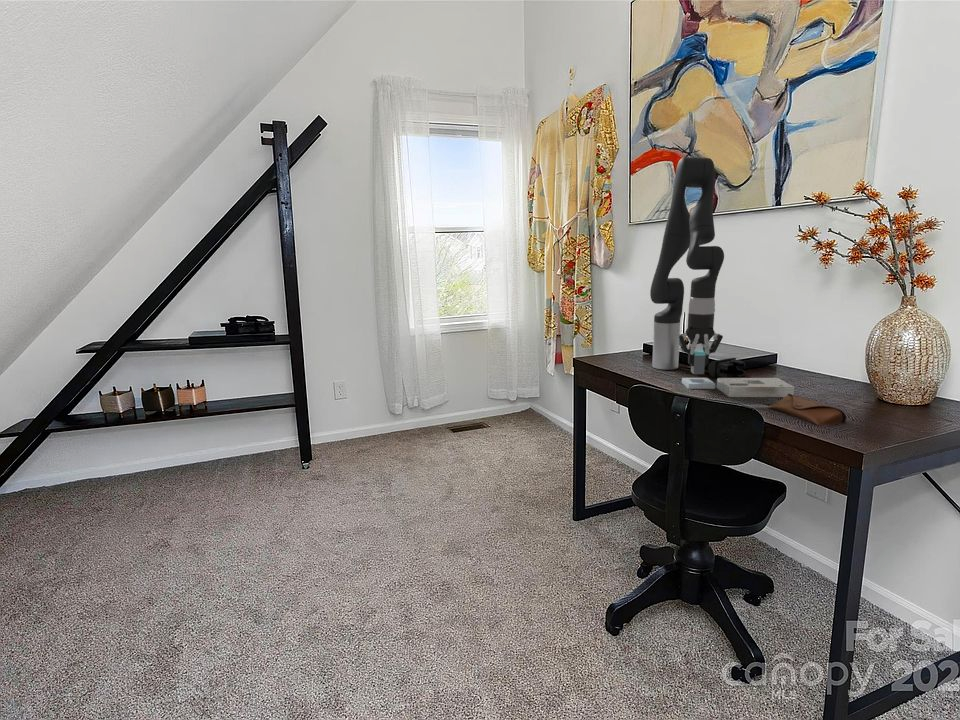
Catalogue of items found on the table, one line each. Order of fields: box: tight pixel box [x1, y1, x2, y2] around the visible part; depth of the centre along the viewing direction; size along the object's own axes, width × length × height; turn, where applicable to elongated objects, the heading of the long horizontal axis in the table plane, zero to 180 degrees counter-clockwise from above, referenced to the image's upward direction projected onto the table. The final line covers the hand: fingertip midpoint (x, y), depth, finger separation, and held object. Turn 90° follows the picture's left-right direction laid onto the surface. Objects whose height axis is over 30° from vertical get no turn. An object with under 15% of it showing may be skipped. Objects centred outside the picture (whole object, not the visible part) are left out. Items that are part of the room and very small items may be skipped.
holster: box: [681, 377, 716, 390], centre depth 173 cm, size 8×8×2 cm
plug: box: [690, 349, 706, 375], centre depth 172 cm, size 3×3×7 cm
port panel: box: [716, 377, 795, 399], centre depth 164 cm, size 18×11×4 cm, turn 84°
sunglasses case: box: [767, 394, 847, 427], centre depth 144 cm, size 18×7×7 cm, turn 17°
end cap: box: [707, 357, 746, 378], centre depth 184 cm, size 10×7×7 cm
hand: (697, 365), depth 172 cm, fingers closed on plug, 3 cm apart
